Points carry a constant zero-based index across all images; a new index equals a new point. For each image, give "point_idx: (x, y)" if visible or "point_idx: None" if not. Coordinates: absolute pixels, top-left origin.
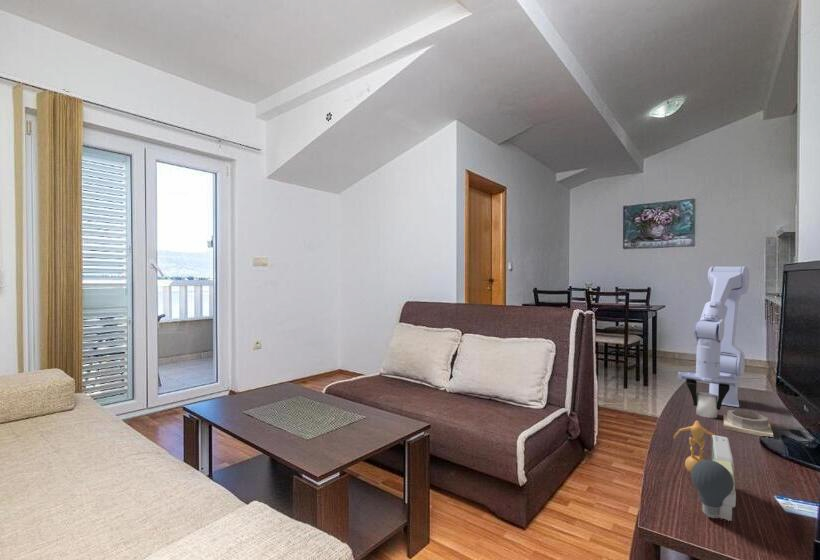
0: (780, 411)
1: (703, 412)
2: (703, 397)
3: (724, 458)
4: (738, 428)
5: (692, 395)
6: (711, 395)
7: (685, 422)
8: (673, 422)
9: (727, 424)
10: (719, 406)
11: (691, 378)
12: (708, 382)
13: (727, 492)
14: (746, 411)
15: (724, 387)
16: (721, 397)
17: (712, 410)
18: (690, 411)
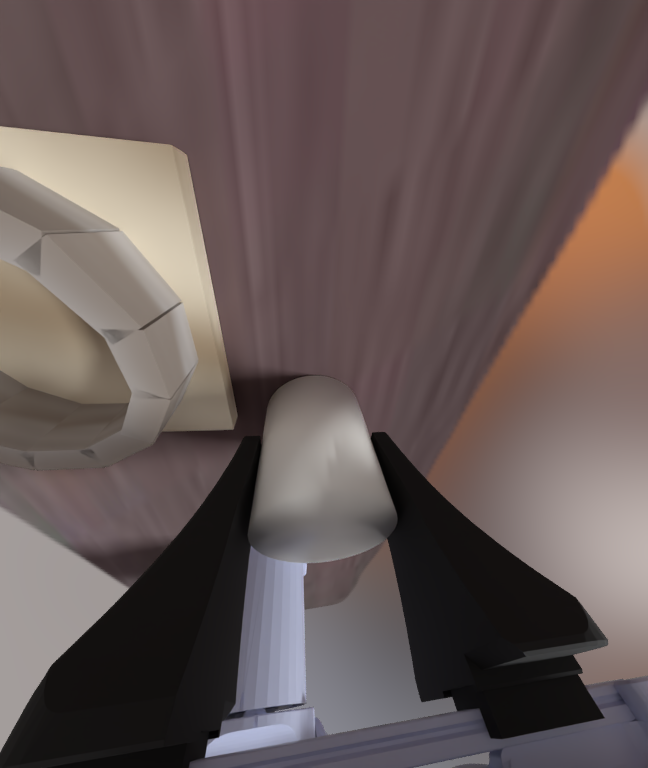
0: (100, 564)
1: (333, 393)
2: (356, 483)
3: None
4: (38, 133)
5: (431, 488)
6: (293, 538)
7: (471, 161)
8: (589, 74)
9: (159, 213)
10: (241, 452)
11: (544, 751)
12: (333, 746)
13: None
14: (56, 451)
15: (73, 761)
16: (203, 528)
17: (285, 412)
18: (380, 420)
